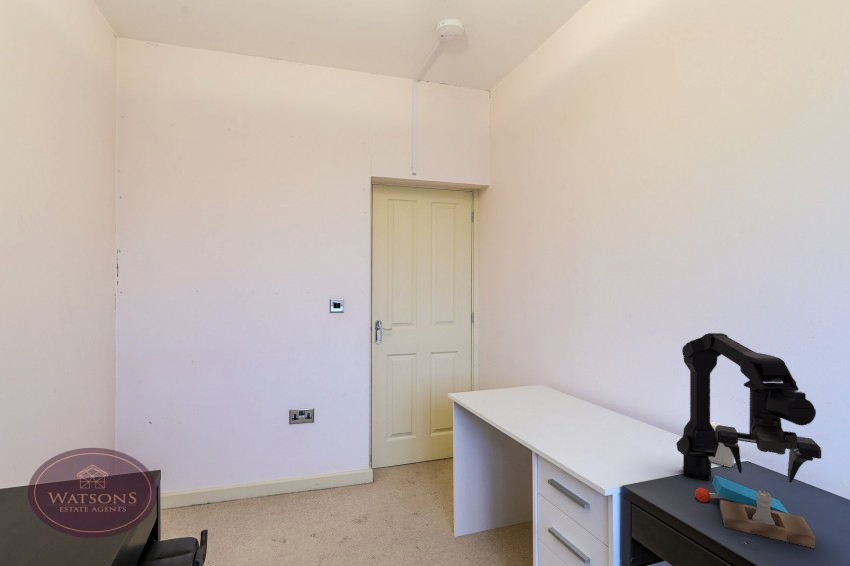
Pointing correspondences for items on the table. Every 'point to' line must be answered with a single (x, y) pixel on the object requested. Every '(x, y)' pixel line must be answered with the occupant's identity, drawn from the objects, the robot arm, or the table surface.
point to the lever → (735, 494)
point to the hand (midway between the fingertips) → (764, 477)
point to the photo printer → (722, 453)
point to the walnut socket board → (788, 528)
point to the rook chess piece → (763, 508)
